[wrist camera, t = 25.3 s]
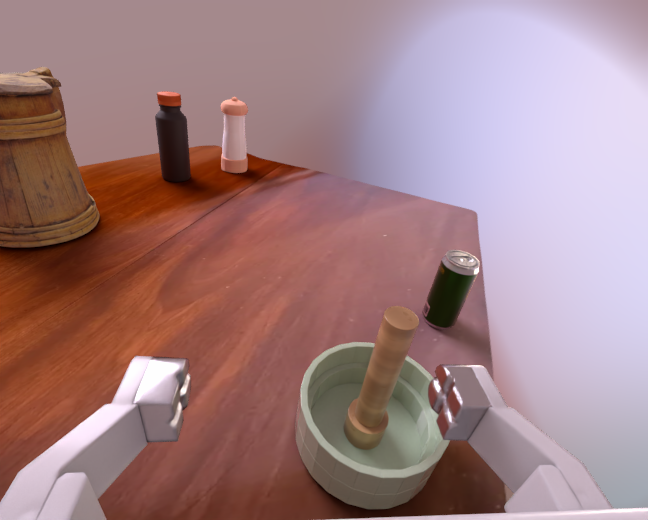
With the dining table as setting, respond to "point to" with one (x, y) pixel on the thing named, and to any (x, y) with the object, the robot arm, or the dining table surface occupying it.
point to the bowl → (398, 440)
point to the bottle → (172, 138)
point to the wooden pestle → (380, 379)
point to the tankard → (38, 166)
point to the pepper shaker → (234, 136)
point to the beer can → (450, 289)
